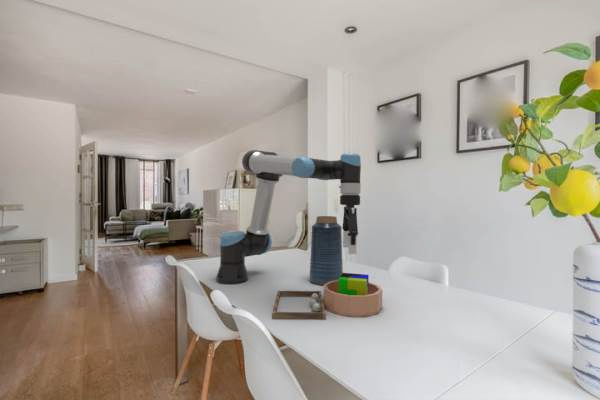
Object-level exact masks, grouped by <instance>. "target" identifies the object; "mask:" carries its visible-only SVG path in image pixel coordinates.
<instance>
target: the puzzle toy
mask: <svg viewBox="0 0 600 400" xmlns="http://www.w3.org/2000/svg"><path fill="white" fill-rule="evenodd" d="M369 277H370V276H369V274H365V273H364V274H362V273H350V272H343V273H342V275H341V276H340V278H339V290H338V293H340V294H345V295H368V282H369Z"/></svg>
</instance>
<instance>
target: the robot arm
mask: <svg viewBox="0 0 600 400" xmlns="http://www.w3.org/2000/svg"><path fill="white" fill-rule="evenodd" d="M241 160H242V161H241V164H242V168H243V169H244V171H246V172H247V173H248V174H251V175H255V178H256V180H257V185H256V193H255V198H254V201H253V208H252V212H251V213H252V214H251V220H250V224H249V226H247V227H246V229H245V230H246V232H244V231H242V230H236V231H229V232H225V233H224V234H221V236H220V242H219V247H220V259H219V263H220V265H219V268H218V271H217V273H216V274H217V275H216V282H217V283H219V284H222V285H236V284H241V283H245V282H247V281H248V280H249V274H248V271H247V266H246V264H245V262H246V261H245V260H246V259H245V258H246V257H251V256H261V255H264V254H266V253H268V252H269V251H270V249H271V247H272V242H273V240H272V239H271V238H272V236H271V234H270V230H268V223H269V218H270V213H271V208H272V203H273V199H274V198H273V196H274V193H275V186H276V184H277V183H278V182H280V177H283V176H290V177H297V178H299V179H316V180H321V181H329V180H330V181H331V180H332V181H333V180H334V181H335V180H339V181H340V185H338V188H339V189H340V191H339V192H340V196H339V204H340V205H341V206H343V220H342V221H343V222H342V226H341V227H342V248H348V250H347V251H348V254H349V255H357V243H358V242H357V237H358V235H359V230H358V219H357V218H358V214H357V210H358V209H357V207H355V206H360V204H361V196H360V194H361V187H362V186H361V169H362V168H361V167H362V163H361V161H362V159H361V155H360V154H358V153H355V152H352V153H351V152H348V153H347V152H345V153H342V154H341V155H340V159H339V160H326V159H325V160H324V159H319V158H312V157H307V156H288V155H287V156H286V155H282V154H280V153H277V152H274V151H264V150H258V149H253V150H252V149H251V150H249V151H246V153H244V155H243V157H242V159H241Z"/></svg>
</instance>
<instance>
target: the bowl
mask: <svg viewBox="0 0 600 400" xmlns="http://www.w3.org/2000/svg"><path fill="white" fill-rule="evenodd" d="M338 290H339V280H335V281H329V282H328V283H326V284H324V285H323V302H324V307H325V310H327V311H329V312H330V313H333V314H336V315H339V316H344V317H350V318H351V317H353V318H354V317H355V318H362V317H371V316H374V315H377V314H378V313H380V312H381V310H382V307H383V289H382V287H381V286H380V285H378V284H375V283H373V282H370V281H368V295H345V294H340V293H338Z"/></svg>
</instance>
